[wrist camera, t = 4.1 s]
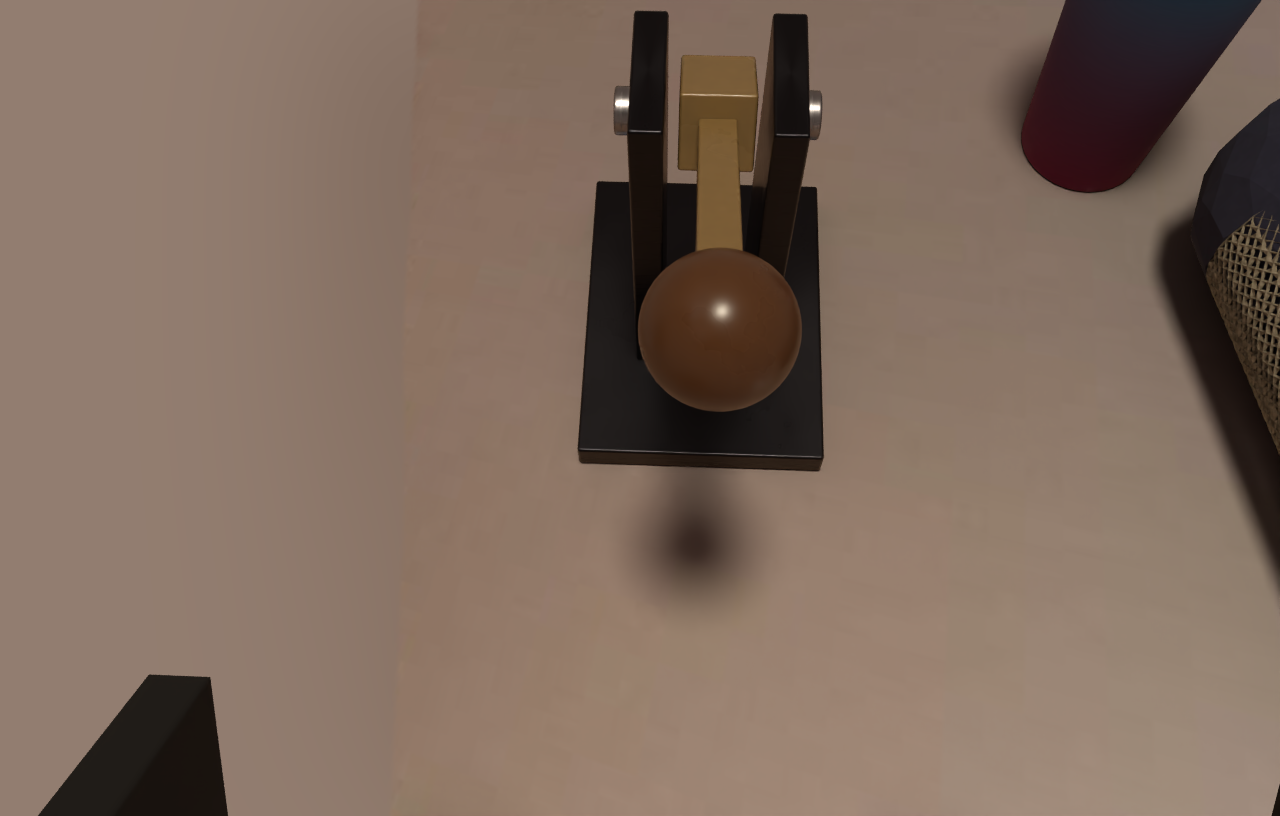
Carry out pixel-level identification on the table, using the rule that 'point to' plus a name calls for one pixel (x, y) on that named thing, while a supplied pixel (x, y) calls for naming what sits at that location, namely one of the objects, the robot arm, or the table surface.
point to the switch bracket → (666, 231)
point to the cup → (1120, 83)
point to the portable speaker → (1246, 252)
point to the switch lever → (719, 260)
